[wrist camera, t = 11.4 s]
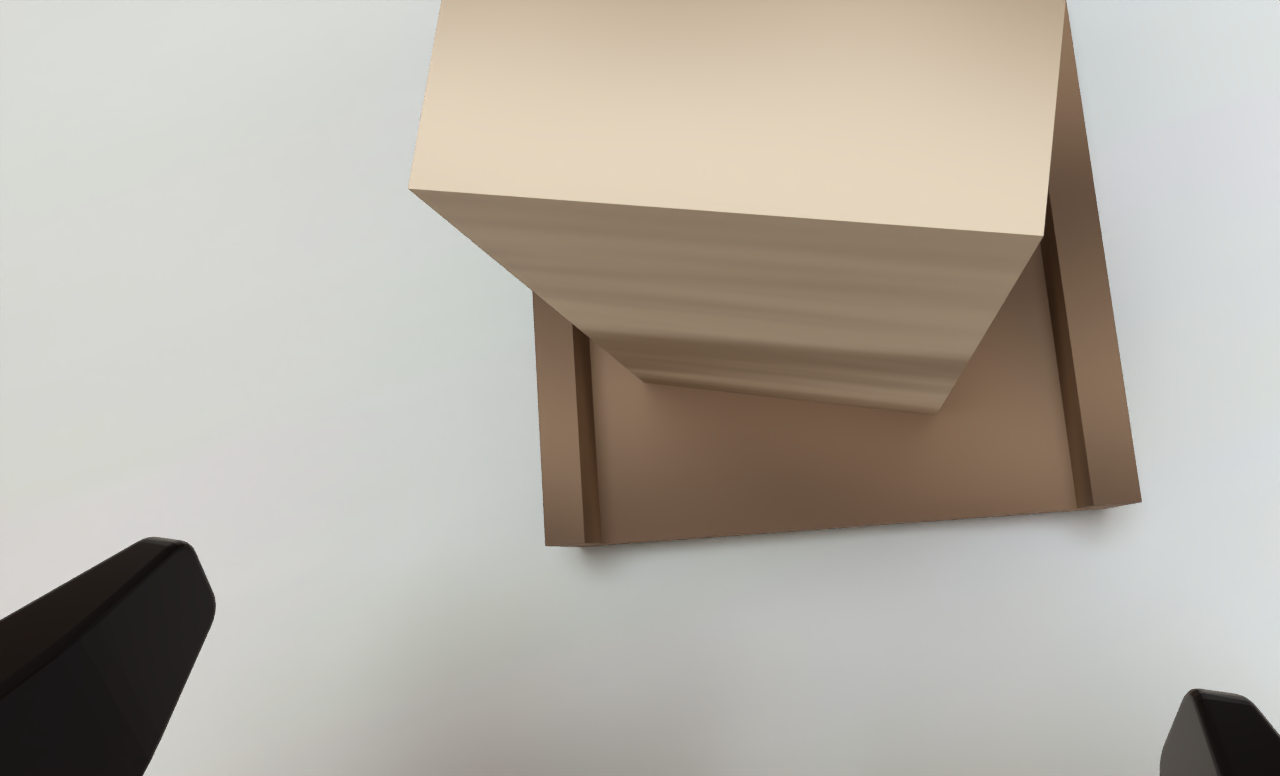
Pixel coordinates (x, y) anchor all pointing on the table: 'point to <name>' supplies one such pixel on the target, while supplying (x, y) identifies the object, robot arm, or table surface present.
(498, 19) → the frame block
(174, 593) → the robot arm
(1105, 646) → the table surface
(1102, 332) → the brown tray
